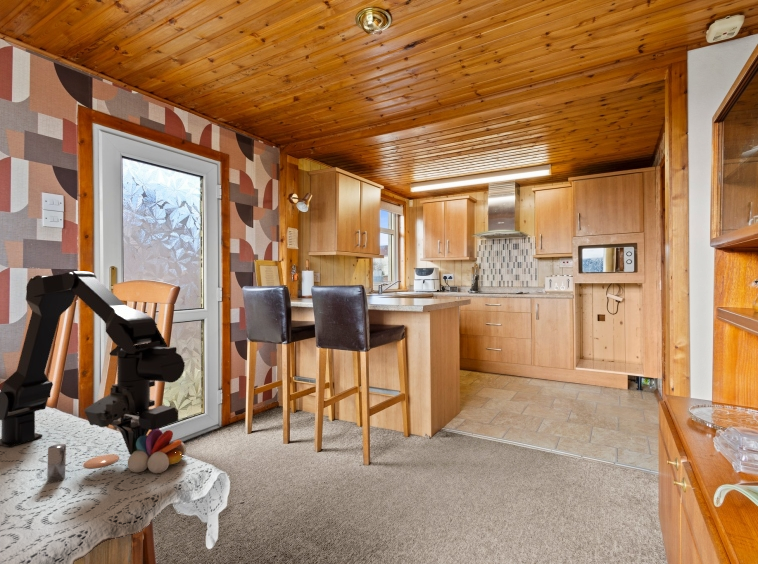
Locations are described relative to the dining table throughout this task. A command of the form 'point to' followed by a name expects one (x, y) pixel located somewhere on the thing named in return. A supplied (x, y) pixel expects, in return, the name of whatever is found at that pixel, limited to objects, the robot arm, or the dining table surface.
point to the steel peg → (56, 462)
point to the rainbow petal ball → (156, 452)
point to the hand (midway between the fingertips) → (133, 454)
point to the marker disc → (101, 461)
